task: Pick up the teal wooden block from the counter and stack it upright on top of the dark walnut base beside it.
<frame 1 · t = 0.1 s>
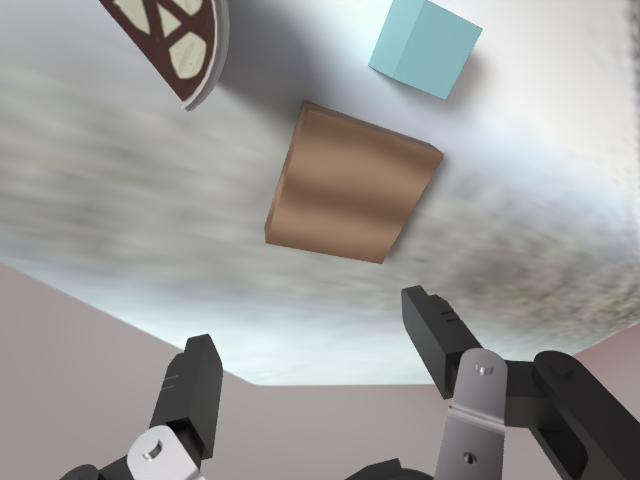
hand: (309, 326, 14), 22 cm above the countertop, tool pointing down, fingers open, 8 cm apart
teal block: (404, 44, 29), on the countertop
walnut base: (344, 187, 36), on the countertop
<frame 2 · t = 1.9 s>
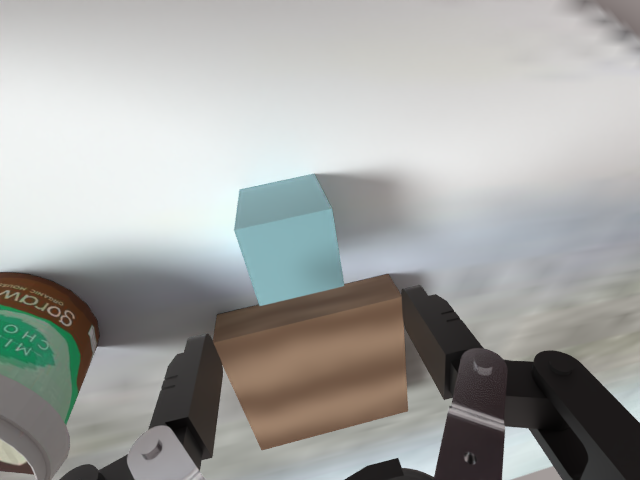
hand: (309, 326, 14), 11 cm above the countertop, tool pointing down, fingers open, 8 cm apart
teal block: (285, 215, 23), on the countertop
walnut base: (318, 353, 30), on the countertop
food container: (37, 296, 23), on the countertop
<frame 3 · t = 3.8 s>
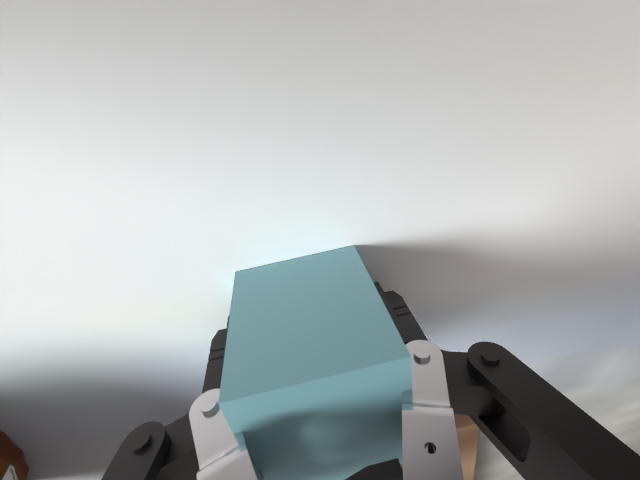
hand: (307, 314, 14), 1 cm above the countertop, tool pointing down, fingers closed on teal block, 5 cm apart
teal block: (306, 304, 15), on the countertop, touching gripper
walnut base: (344, 468, 22), on the countertop
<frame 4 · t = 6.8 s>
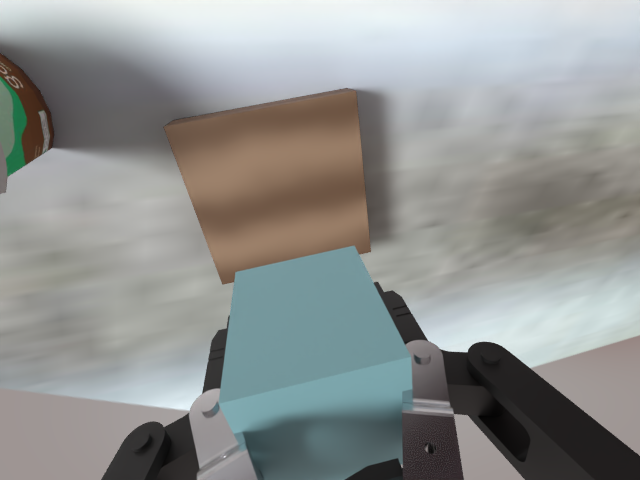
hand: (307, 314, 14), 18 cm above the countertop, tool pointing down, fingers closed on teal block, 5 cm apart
teal block: (306, 305, 15), point 17 cm above the countertop, touching gripper
walnut base: (280, 186, 30), on the countertop
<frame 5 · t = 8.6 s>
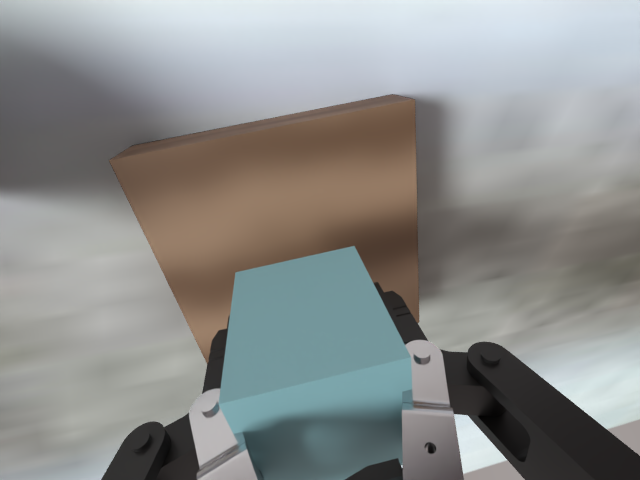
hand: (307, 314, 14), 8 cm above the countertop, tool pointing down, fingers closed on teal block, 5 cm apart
teal block: (306, 305, 15), point 7 cm above the countertop, touching gripper
walnut base: (292, 233, 21), on the countertop
when the fingers open (5 cm above the countertop, at t = 10.0 s): teal block drops 1 cm, resting on walnut base.
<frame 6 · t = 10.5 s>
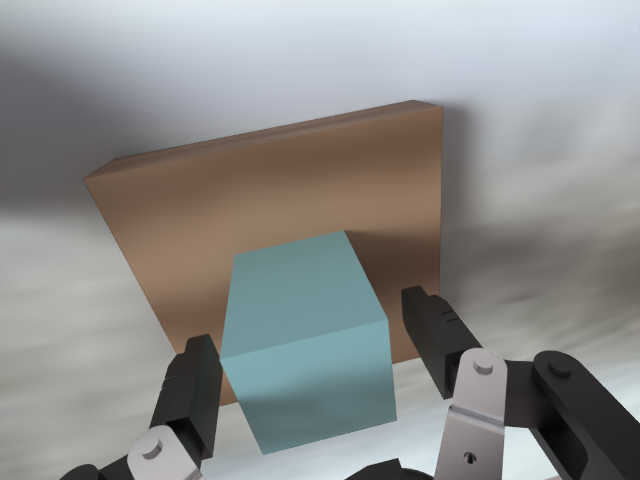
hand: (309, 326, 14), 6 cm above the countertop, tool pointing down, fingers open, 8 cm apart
teal block: (300, 286, 16), point 3 cm above the countertop, touching walnut base
walnut base: (296, 255, 19), on the countertop
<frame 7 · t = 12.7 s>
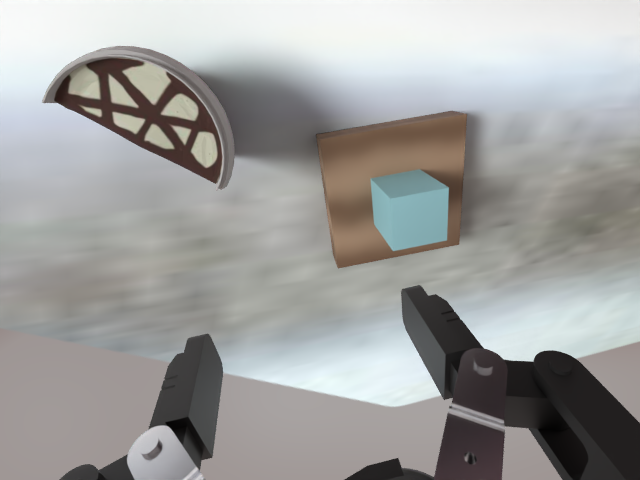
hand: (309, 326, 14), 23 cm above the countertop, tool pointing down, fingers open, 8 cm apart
teal block: (396, 197, 34), point 3 cm above the countertop, touching walnut base
walnut base: (387, 188, 36), on the countertop
food container: (188, 98, 30), on the countertop
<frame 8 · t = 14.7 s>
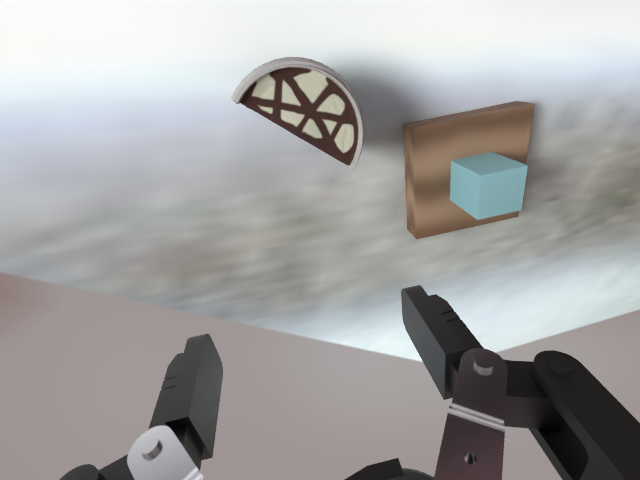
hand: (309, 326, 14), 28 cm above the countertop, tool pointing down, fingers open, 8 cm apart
teal block: (470, 176, 40), point 3 cm above the countertop, touching walnut base
walnut base: (458, 169, 42), on the countertop
food container: (303, 95, 36), on the countertop
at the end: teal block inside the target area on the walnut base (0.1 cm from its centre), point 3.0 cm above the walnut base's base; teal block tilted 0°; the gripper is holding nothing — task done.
